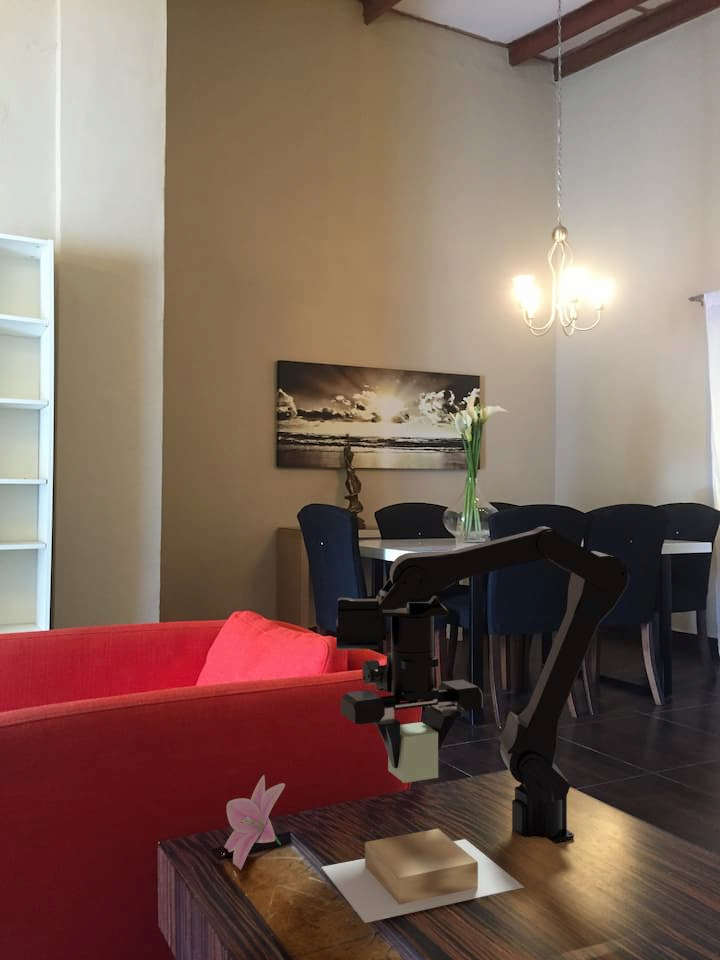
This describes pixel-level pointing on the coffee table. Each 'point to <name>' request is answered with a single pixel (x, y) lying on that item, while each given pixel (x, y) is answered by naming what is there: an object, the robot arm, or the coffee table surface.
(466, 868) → the base block
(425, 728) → the top block
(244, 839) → the lily
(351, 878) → the white rectangular plate
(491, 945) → the coffee table surface
